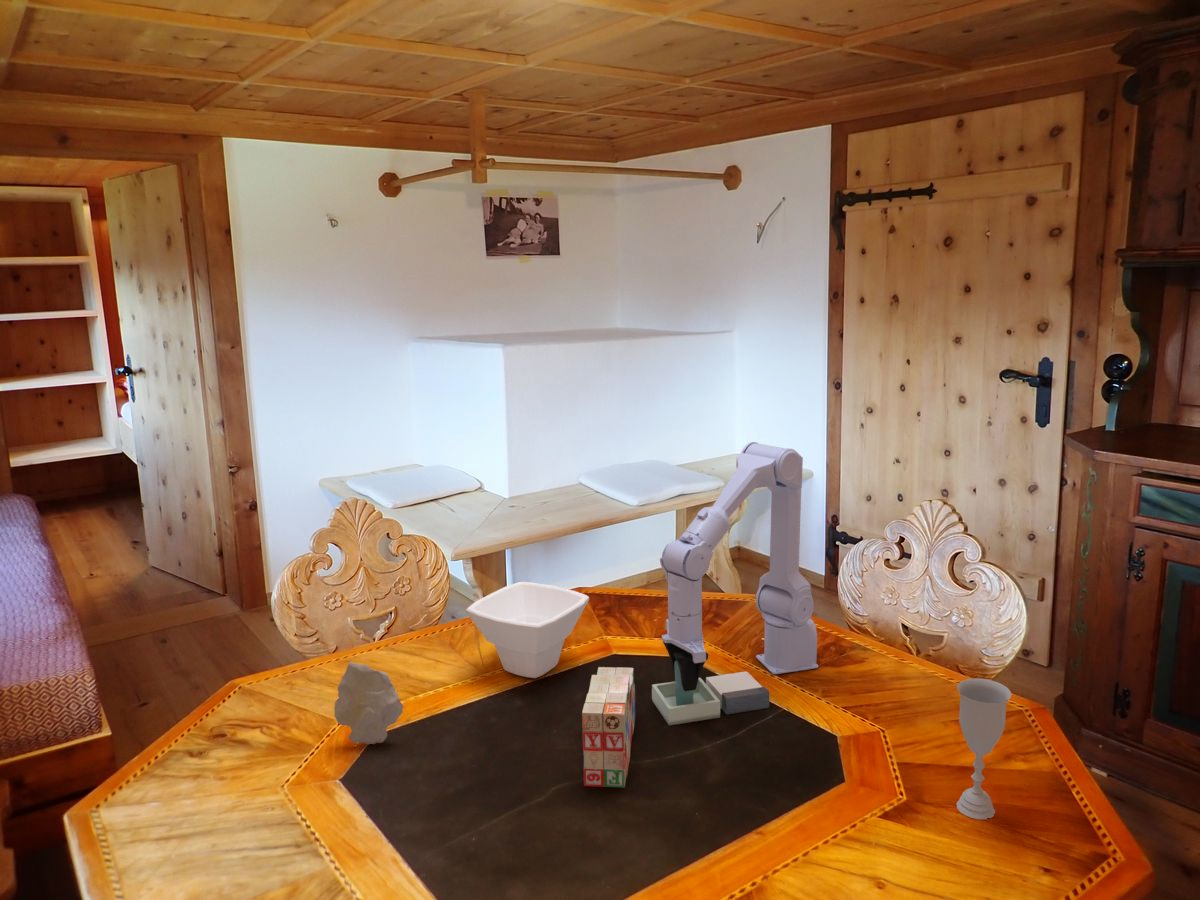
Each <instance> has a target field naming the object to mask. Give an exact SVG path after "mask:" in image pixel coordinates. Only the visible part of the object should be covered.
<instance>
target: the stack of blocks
mask: <svg viewBox="0 0 1200 900" xmlns="http://www.w3.org/2000/svg"><path fill="white" fill-rule="evenodd" d="M634 671H635V668H633V667H622V666H621V667H619V666H618V667H617V666H616V667H612V666H611V667H610V666H609V667H608V666H607V667H605V666H602V667H601V666H598V668H597V672H596V674H591V678H590V683H589V687H588V688H589V689H588V693H586V698H585V701H584V704H583V708H582V711H581V712H582V713H581V720H582V721H581V723H582V725H581V726H582V727H581V728H582V750H583V751H582V753H583V786H584V787H595V788H596V787H599V788H601V787H602V788H604V787H605V788H621V789H622V788H625V787H626V781H627V777H628V772H629V765H630V758H631V747H632V738H633V735H634V729H635V722H636V688H635V687H636V684H635V678H634V677H635V673H634Z"/></svg>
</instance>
